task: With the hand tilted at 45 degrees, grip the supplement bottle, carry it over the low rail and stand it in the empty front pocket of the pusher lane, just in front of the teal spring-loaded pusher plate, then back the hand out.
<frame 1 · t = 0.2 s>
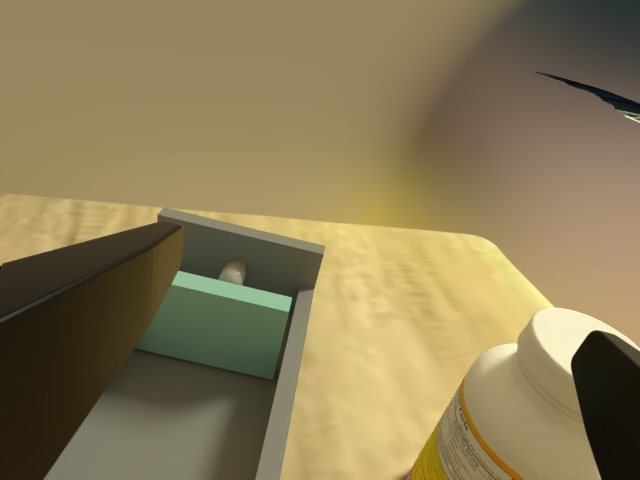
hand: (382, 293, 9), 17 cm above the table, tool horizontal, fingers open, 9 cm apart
pusher plate: (211, 323, 24), point 4 cm above the table, slide at 0.0 cm
pusher lane: (170, 453, 22), on the table
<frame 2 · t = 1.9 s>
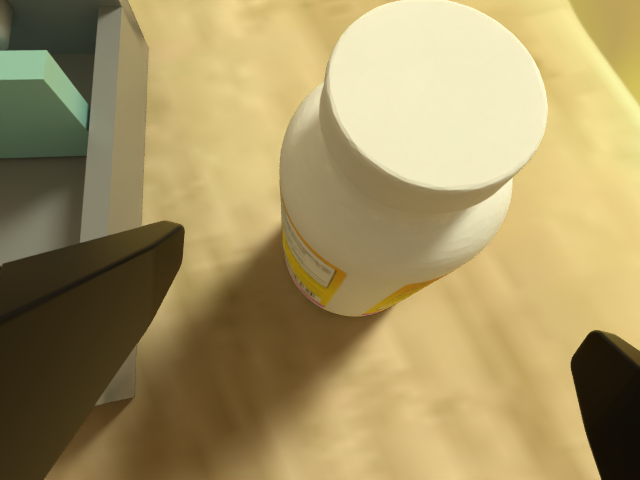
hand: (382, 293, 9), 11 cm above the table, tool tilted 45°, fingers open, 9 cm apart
supplement bottle: (349, 250, 21), on the table
pusher lane: (15, 268, 19), on the table
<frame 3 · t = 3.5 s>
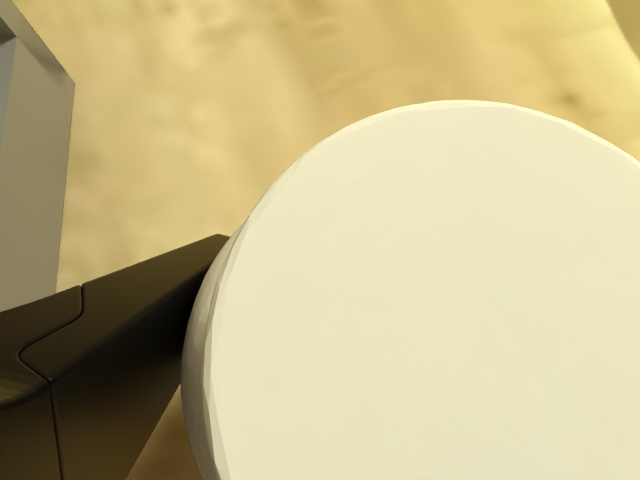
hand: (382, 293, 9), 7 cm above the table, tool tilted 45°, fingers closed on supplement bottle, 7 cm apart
supplement bottle: (333, 359, 16), on the table, touching gripper
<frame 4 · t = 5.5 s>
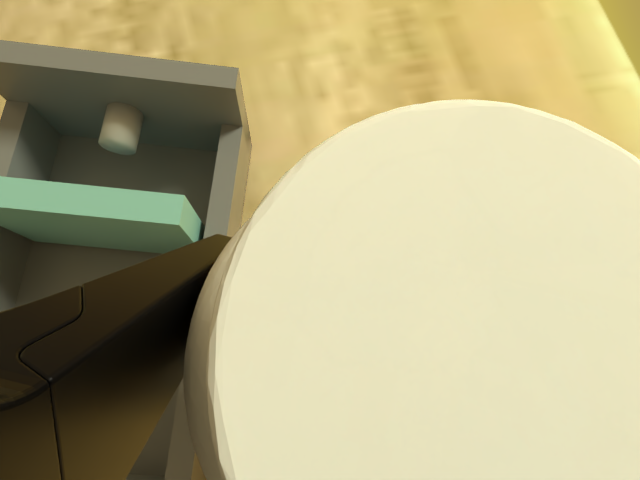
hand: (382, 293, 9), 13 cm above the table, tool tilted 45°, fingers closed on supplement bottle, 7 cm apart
supplement bottle: (335, 359, 16), point 6 cm above the table, touching gripper
pusher plate: (100, 221, 19), point 4 cm above the table, slide at 0.0 cm
pusher lane: (109, 353, 21), on the table
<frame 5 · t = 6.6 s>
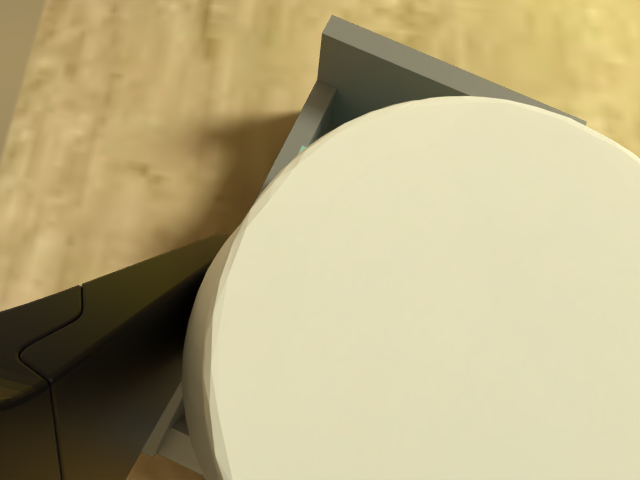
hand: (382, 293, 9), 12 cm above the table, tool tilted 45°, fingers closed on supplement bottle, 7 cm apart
supplement bottle: (334, 358, 16), point 5 cm above the table, touching gripper
pusher plate: (384, 227, 18), point 4 cm above the table, slide at 0.0 cm
pusher lane: (324, 352, 20), on the table
when the fingers open (9 cm above the table, at t = 7.6 s): supplement bottle stays where it is, resting on pusher lane.
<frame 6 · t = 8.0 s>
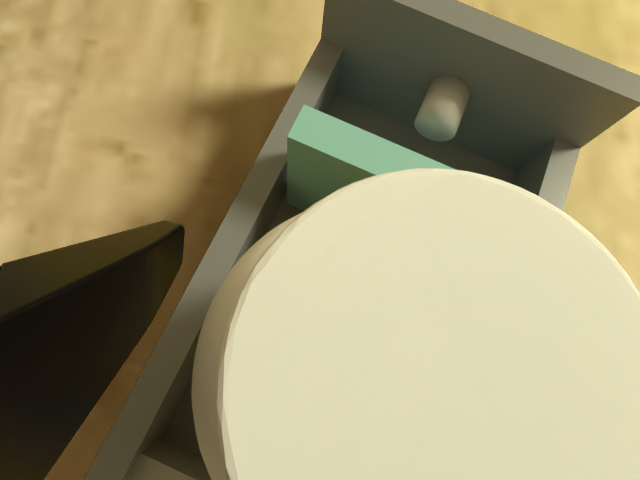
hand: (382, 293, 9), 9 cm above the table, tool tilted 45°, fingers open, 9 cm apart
supplement bottle: (331, 365, 17), point 1 cm above the table, touching pusher lane
pusher plate: (401, 209, 15), point 4 cm above the table, slide at 0.0 cm
pusher lane: (329, 359, 17), on the table
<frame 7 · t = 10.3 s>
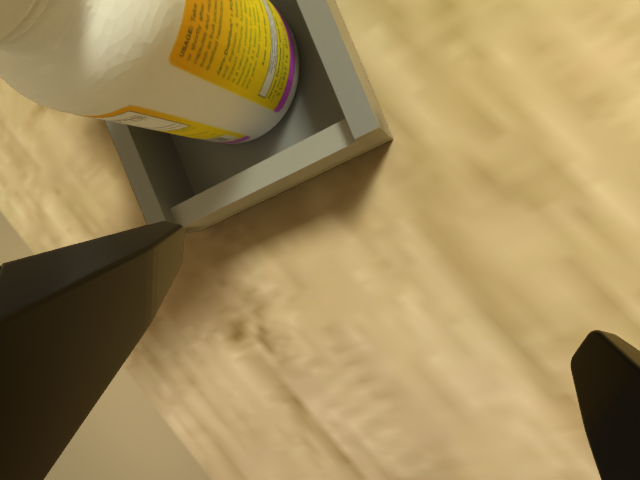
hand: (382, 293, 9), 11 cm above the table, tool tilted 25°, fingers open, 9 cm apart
supplement bottle: (239, 75, 20), point 1 cm above the table, touching pusher lane
pusher lane: (242, 76, 21), on the table
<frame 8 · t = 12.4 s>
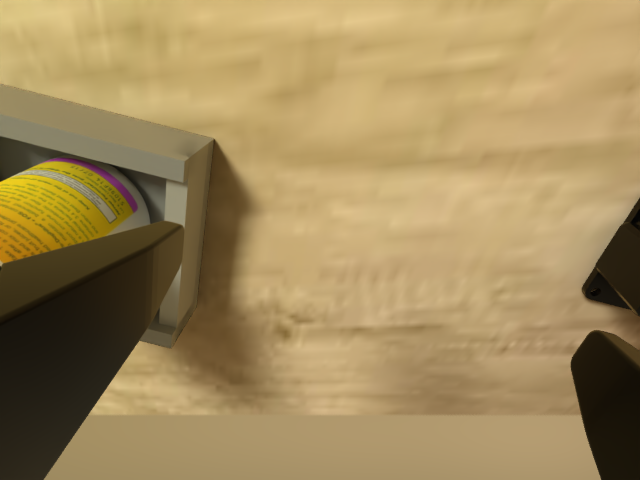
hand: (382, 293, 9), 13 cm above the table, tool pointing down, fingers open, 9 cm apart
supplement bottle: (99, 209, 24), point 1 cm above the table, touching pusher lane
pusher lane: (101, 205, 24), on the table
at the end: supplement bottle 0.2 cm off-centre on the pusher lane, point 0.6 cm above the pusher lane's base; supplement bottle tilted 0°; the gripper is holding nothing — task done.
